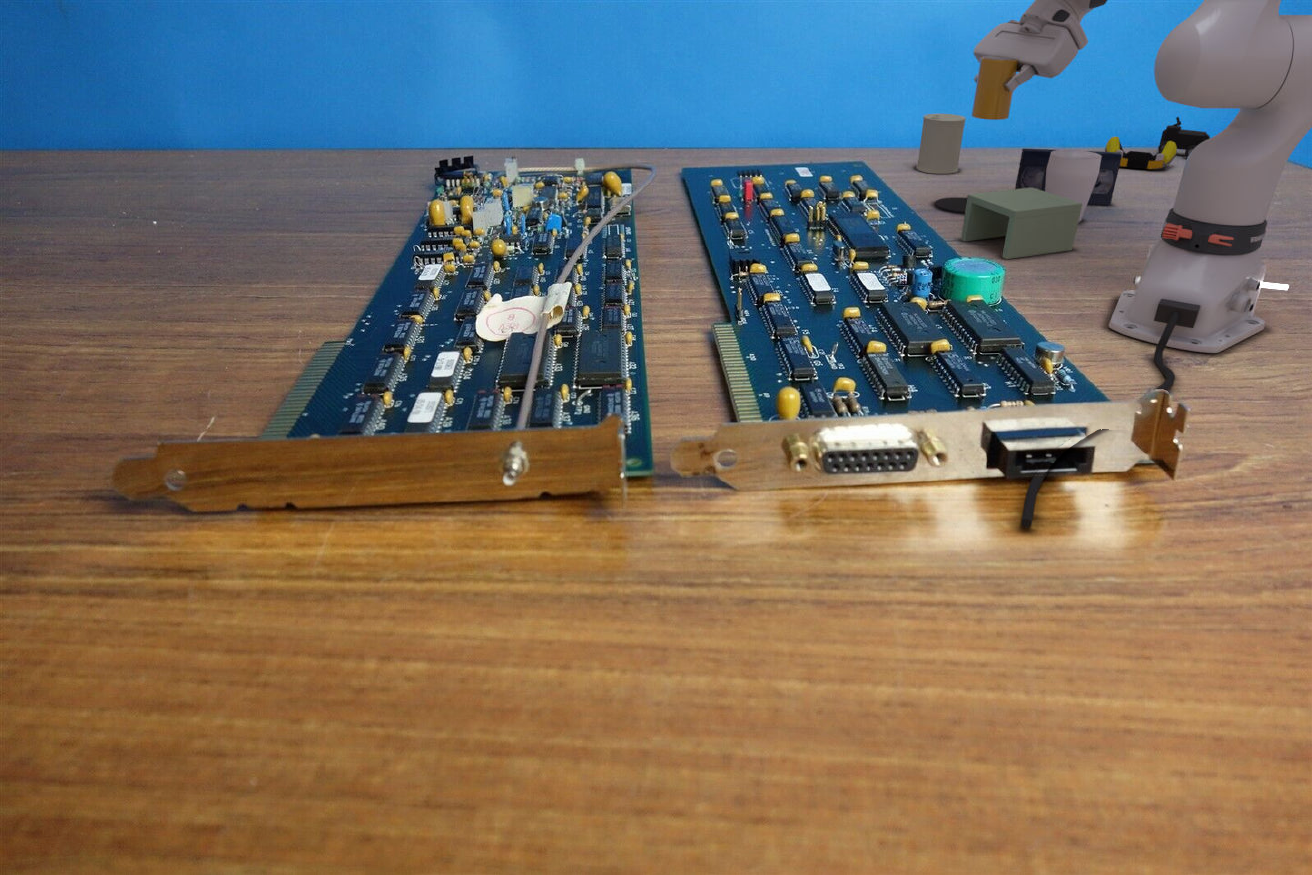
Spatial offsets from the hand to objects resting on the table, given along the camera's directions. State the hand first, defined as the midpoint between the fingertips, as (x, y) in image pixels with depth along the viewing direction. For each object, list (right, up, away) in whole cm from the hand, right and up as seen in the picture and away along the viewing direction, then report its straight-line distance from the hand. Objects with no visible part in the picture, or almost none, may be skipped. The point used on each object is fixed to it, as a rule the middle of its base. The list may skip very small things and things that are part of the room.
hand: (992, 85), depth 168 cm
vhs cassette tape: (+21, -16, +20) cm, 33 cm away
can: (+4, -2, +45) cm, 45 cm away
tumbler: (0, -5, +3) cm, 5 cm away
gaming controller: (+51, 0, +49) cm, 71 cm away
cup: (+16, -22, +9) cm, 29 cm away
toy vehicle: (+70, +5, +59) cm, 91 cm away
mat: (0, -18, +16) cm, 24 cm away
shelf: (+2, -30, -6) cm, 31 cm away
